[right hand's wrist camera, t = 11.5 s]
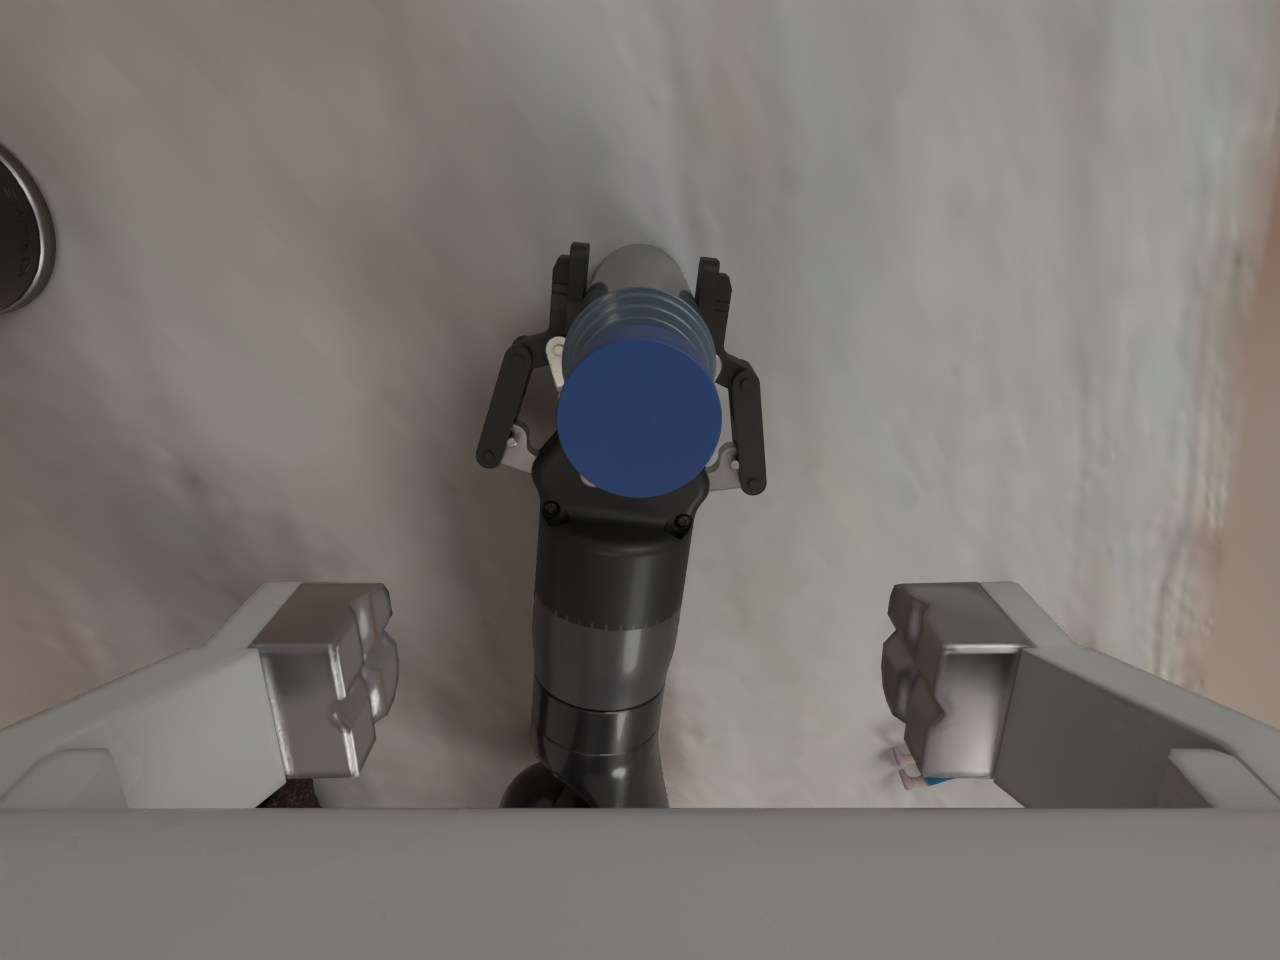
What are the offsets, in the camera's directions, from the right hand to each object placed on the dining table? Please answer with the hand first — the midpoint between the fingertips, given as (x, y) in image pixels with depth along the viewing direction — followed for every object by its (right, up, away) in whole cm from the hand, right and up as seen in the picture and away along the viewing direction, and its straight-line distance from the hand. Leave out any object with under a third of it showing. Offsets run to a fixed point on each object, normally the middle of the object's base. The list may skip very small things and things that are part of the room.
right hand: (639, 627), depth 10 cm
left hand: (0, +12, +23) cm, 26 cm away
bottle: (0, +12, +30) cm, 32 cm away
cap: (0, +3, +9) cm, 10 cm away
